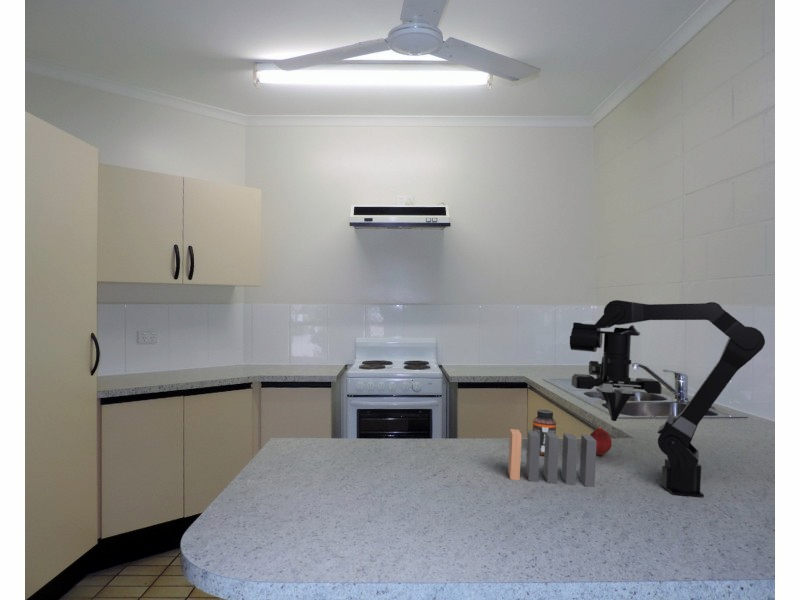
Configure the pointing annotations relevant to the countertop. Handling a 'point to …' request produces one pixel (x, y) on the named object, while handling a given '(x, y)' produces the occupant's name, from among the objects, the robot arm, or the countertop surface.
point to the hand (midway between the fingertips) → (613, 420)
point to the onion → (602, 441)
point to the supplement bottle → (544, 426)
